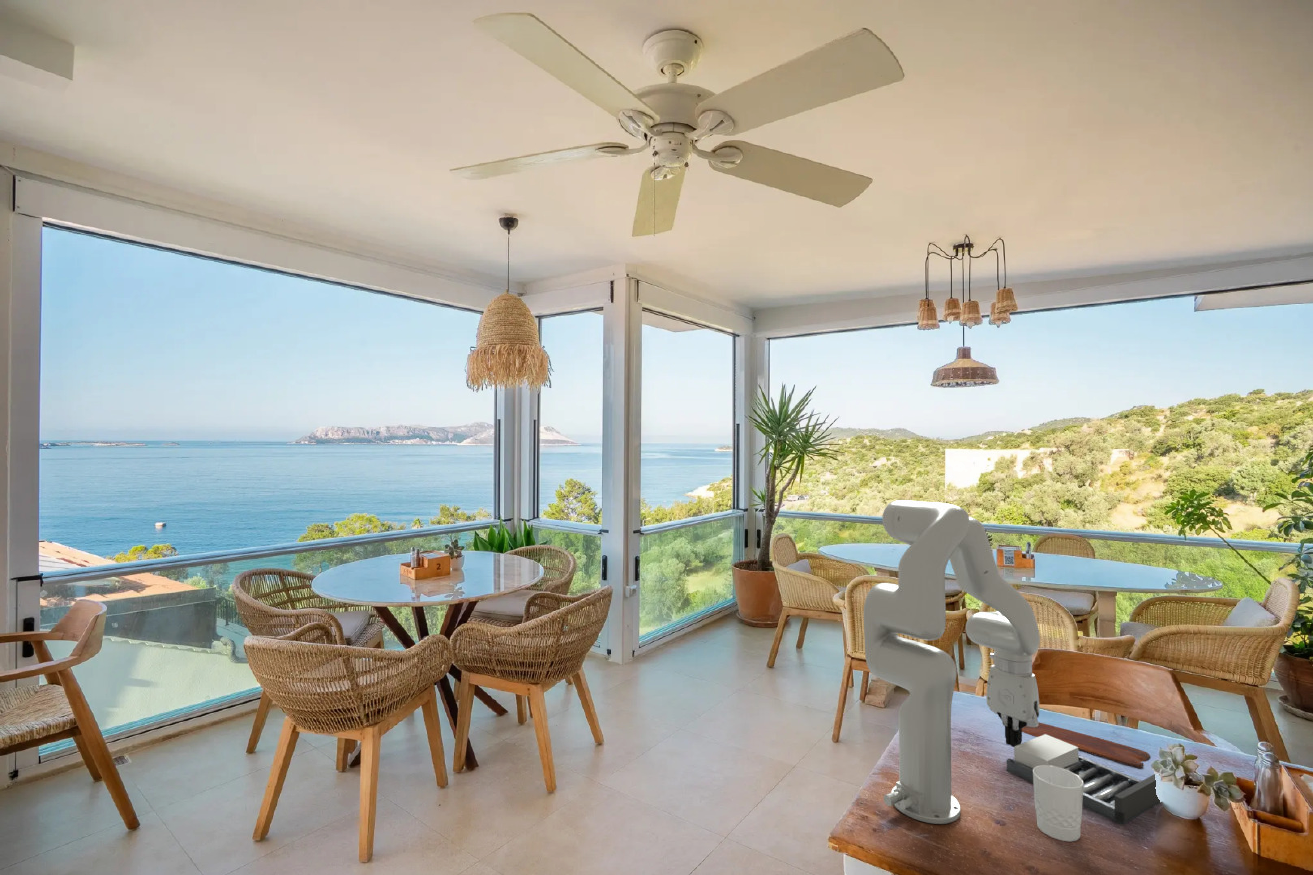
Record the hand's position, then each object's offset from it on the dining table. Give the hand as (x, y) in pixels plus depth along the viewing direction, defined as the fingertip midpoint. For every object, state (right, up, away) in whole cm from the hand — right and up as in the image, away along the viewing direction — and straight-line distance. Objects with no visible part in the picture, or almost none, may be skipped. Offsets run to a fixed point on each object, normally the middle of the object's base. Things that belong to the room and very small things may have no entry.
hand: (1013, 743), depth 140 cm
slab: (+4, 0, -6) cm, 7 cm away
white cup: (-8, -2, -27) cm, 29 cm away
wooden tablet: (+19, -3, +7) cm, 21 cm away
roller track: (+7, -2, -13) cm, 15 cm away
